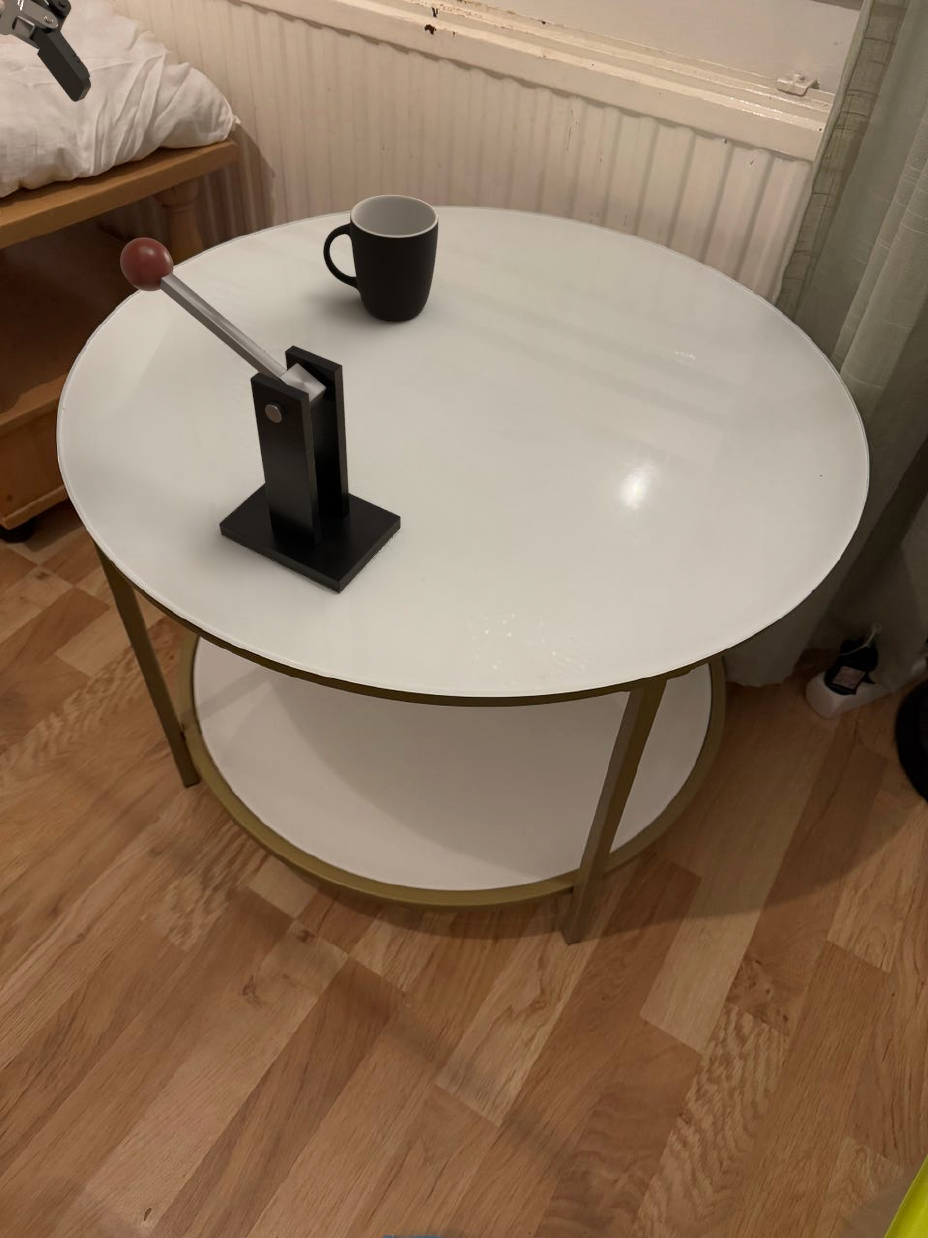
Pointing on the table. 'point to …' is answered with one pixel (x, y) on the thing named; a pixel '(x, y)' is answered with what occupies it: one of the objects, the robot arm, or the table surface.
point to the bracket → (307, 483)
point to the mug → (390, 254)
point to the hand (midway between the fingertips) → (36, 113)
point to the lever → (207, 313)
